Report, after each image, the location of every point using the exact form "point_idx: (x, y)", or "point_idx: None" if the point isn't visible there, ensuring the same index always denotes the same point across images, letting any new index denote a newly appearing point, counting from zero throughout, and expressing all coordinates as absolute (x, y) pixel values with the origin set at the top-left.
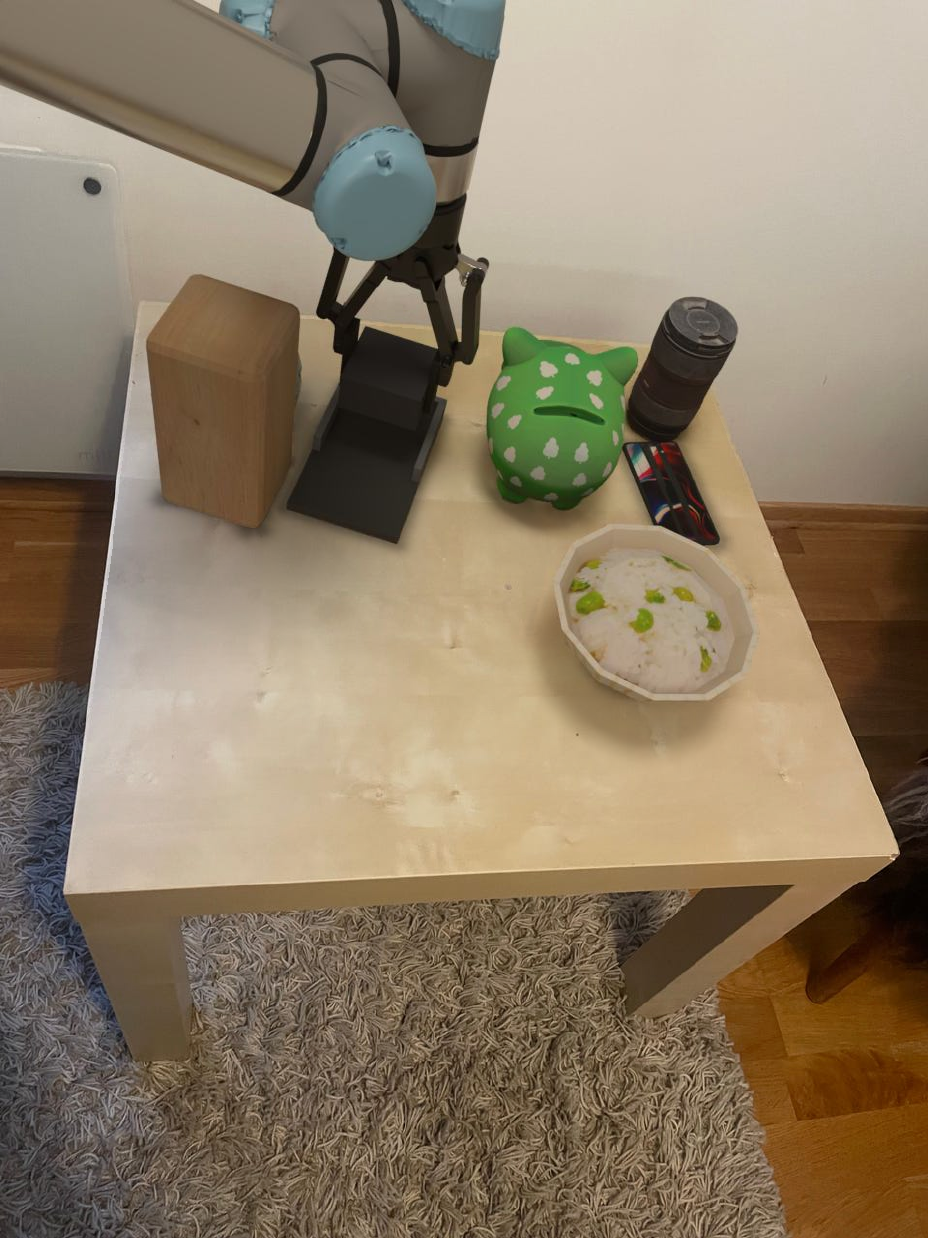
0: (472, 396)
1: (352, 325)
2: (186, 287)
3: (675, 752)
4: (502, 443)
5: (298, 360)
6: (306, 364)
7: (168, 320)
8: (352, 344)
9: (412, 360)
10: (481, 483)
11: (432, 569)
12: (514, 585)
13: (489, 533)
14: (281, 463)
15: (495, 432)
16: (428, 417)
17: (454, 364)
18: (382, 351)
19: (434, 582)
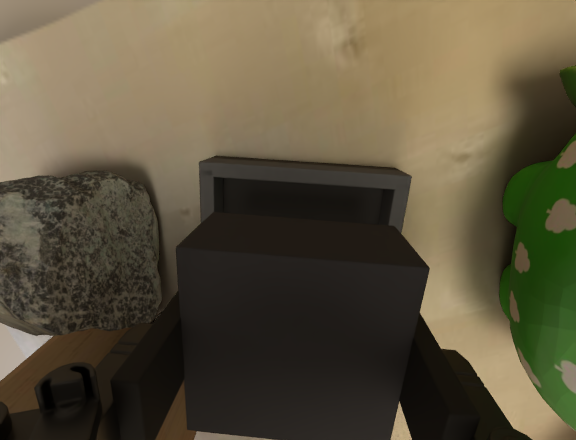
0: (451, 80)
1: (127, 419)
2: None
3: None
4: (573, 427)
5: (110, 193)
6: (136, 121)
7: None
8: (168, 398)
9: (345, 338)
10: (468, 281)
11: (404, 417)
12: (510, 417)
13: (479, 357)
14: (182, 413)
15: (558, 401)
16: (372, 191)
17: (491, 396)
18: (255, 331)
19: (408, 431)
